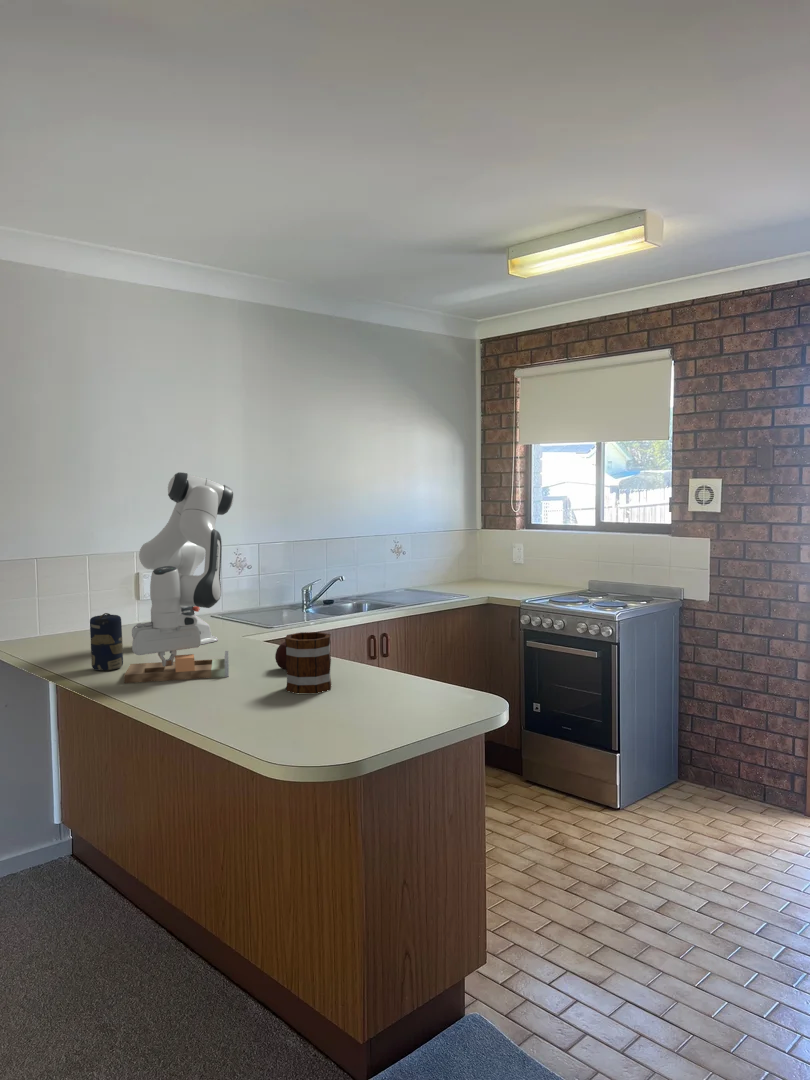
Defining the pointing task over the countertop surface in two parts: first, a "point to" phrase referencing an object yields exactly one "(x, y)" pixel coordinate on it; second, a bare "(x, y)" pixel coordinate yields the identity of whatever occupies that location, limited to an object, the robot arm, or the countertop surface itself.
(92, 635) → the canister
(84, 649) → the countertop surface
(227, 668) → the end stop
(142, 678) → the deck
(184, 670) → the block
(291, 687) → the mug
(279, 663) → the potato
